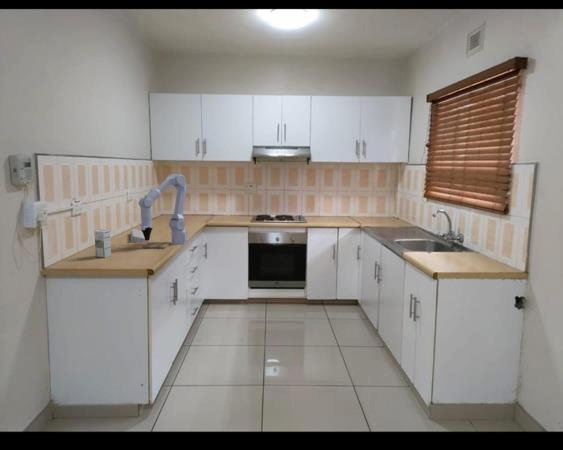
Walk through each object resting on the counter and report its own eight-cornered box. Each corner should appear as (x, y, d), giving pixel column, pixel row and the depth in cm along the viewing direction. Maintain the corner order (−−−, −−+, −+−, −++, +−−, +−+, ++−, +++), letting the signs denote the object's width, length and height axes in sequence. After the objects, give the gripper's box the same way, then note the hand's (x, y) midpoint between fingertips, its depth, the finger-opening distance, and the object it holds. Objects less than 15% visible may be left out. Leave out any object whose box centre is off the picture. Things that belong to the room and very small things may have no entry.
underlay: (171, 244, 249) (171, 244, 249) (164, 249, 233) (164, 249, 233) (148, 244, 249) (148, 243, 249) (140, 249, 233) (140, 249, 233)
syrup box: (111, 255, 216) (110, 229, 214) (104, 258, 210) (103, 231, 208) (102, 255, 217) (101, 229, 215) (95, 257, 212) (93, 230, 210)
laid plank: (170, 244, 248) (170, 242, 248) (164, 248, 234) (164, 246, 234) (160, 244, 248) (160, 242, 248) (153, 248, 234) (153, 246, 234)
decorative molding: (144, 237, 288) (130, 234, 284) (146, 231, 288) (132, 228, 284) (147, 246, 257) (131, 243, 253) (148, 239, 257) (132, 236, 253)
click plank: (160, 244, 248) (159, 242, 248) (153, 248, 234) (153, 246, 234) (148, 244, 248) (148, 242, 248) (141, 248, 234) (141, 246, 234)
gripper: (143, 216, 241) (144, 237, 243) (135, 219, 227) (136, 242, 229) (155, 216, 242) (155, 237, 244) (147, 219, 227) (148, 242, 229)
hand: (147, 240), depth 236 cm, fingers closed
